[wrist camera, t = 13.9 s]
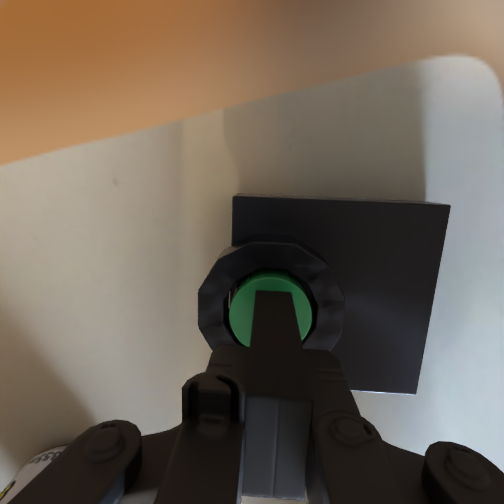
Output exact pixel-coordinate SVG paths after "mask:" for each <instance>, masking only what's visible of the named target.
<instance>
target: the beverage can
mask: <svg viewBox="0 0 504 504" xmlns="http://www.w3.org/2000/svg"><path fill="white" fill-rule="evenodd" d="M66 447H67V446H61V447H56V448H53V449H50V450H48V451H45V452H43V453H40V454H38V455H37V456H35V457H34V458H33V459H32V460H31V461H29V462H28V463H27V464H26V465H25V466H24V467H23V468H22V469H21V470H20V471H19V473H18V474H17V475H16V476H15V477H14V478H13V480H12V481H11V482H10V483H9V484H8V485H7V487H6V488H5V489H4V490H3V491H2V493H1V494H0V504H7V503H8V502H9V501H10V500H11V499H12V498H13V497H14V496H16V495H17V494H18V493H19V492H20V491H21V490H22V489H23V488H24V487H25V486H26V485H27V484H28V483H29V482H30V481H31V480H32V479H33V478H35V477H36V476H37V475H38V474H39V473H40V472H41V471H42V470H43V469H44V468H45V467H46V466H47V465H48V464H49V463H50V462H51V461H52V460H54V459H55V458H56V457H57V456H58V455H59V454H60V453H61V452H62V451H63V450H64V449H65V448H66Z"/></svg>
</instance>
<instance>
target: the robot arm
mask: <svg viewBox="0 0 504 504" xmlns="http://www.w3.org/2000/svg"><path fill="white" fill-rule="evenodd" d="M305 489H306V491H307V499H308V504H504V473H503V472H502V471H501V470H500V469H499V468H498V467H497V466H495V465H494V464H493V463H492V462H490V461H489V460H488V459H487V458H485V457H484V456H483V455H481V454H479V453H478V452H476V451H474V450H472V449H470V448H468V447H466V446H463V445H460V444H457V443H453V442H442V441H438V442H436V443H433V444H431V445H429V447H428V449H427V451H426V452H425V456H422V455H419V454H416V453H413V452H410V451H407V450H404V449H401V448H398V447H396V446H393V445H391V444H388V443H387V442H385V441H383V440H382V438H381V436H380V434H379V433H378V431H377V430H376V428H375V427H374V425H372V424H371V423H370V422H369V421H367V420H366V419H365V418H363V417H361V415H360V412H359V410H358V407H357V405H356V402H355V400H354V397H353V395H352V392H351V390H350V387H349V385H348V382H347V379H346V377H345V374H344V373H343V369H342V367H341V364H340V362H339V360H338V359H337V358H336V357H335V356H334V355H333V354H332V353H331V352H330V351H329V350H314V349H303V344H302V340H301V335H300V330H299V325H298V321H297V316H296V311H295V307H294V302H293V297H292V292H283V291H265V290H256V292H255V302H254V311H253V320H252V329H251V338H250V347H246V346H229V345H220V346H219V347H218V348H217V349H216V350H215V351H214V352H212V354H211V357H210V360H209V363H208V366H207V369H206V372H203V373H200V374H197V375H195V376H193V377H192V378H190V379H188V380H187V381H186V383H185V384H184V385H183V387H182V423H181V424H180V425H178V426H176V427H174V428H172V429H170V430H167V431H163V432H160V433H155V434H149V435H144V436H141V432H140V431H139V429H138V427H137V426H136V425H135V424H133V423H131V422H129V421H124V420H112V421H106V422H102V423H100V424H97V425H95V426H93V427H90V428H89V429H87V430H86V431H85V432H83V433H82V434H81V435H79V436H78V437H77V438H76V439H75V440H74V441H73V442H72V443H70V444H69V445H68V446H67V447H66V448H65V449H64V450H63V451H62V452H61V453H60V454H59V455H58V456H57V457H56V458H55V459H54V460H52V461H51V462H50V463H49V464H48V465H47V466H46V467H45V468H44V469H43V470H42V471H41V472H40V473H39V474H38V475H37V476H36V477H35V478H33V479H32V480H31V481H30V482H29V483H28V484H27V485H26V486H25V487H24V488H23V489H22V490H21V491H20V492H19V493H18V494H17V495H16V496H14V497H13V498H12V499H11V500H10V501H9V502H8V503H7V504H241V496H251V497H263V498H276V499H288V500H301V501H304V499H305Z"/></svg>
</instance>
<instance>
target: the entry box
mask: <svg viewBox="0 0 504 504" xmlns="http://www.w3.org/2000/svg"><path fill="white" fill-rule="evenodd" d="M450 208H451V206H450V205H447V204H440V203H433V202H424V201H400V200H376V199H352V198H328V197H304V196H281V195H257V194H237V195H235V196H233V201H232V242H231V247H229V248H227V249H225V250H224V251H223V252H222V253H221V255H220V256H219V258H218V259H217V261H216V263H215V264H214V266H213V267H212V269H211V271H210V272H209V274H208V275H207V277H206V279H205V280H204V282H203V283H202V285H201V287H200V288H199V292H198V326H199V329H200V331H201V333H202V334H203V336H204V338H205V339H206V341H207V343H208V344H209V346H210V348H211V349H212V351H213V352H214V351H215V350H216V349H217V348H218V347H219V346H220V345H229V346H245V345H244V344H243V343H241V342H240V341H239V339H238V338H237V337H236V336H235V334H234V332H233V330H232V328H231V325H230V320H229V292H230V305H231V302H232V298H233V295H234V291H235V289H236V286H237V285H238V283H239V281H240V280H241V279H242V278H243V277H244V276H246V275H248V274H250V273H252V272H254V271H256V270H258V269H260V268H264V269H283V270H287V271H288V272H290V273H292V274H293V275H295V276H296V277H297V278H298V279H299V280H300V282H301V283H302V285H303V286H304V289H305V291H306V294H307V297H308V300H309V303H310V306H311V311H312V321H311V325H310V329H309V331H308V333H307V334H306V336H305V338H304V339H303V340H302V344H303V349H314V350H329V351H330V352H331V353H332V354H333V355H334V356H335V357H336V358H337V359H338V360H339V362H340V364H341V367H342V369H343V373H344V374H345V377H346V379H347V382H348V385H349V387H350V390H351V391H361V392H376V393H392V394H407V395H416V392H417V386H418V381H419V375H420V370H421V364H422V359H423V354H424V348H425V343H426V337H427V332H428V327H429V321H430V316H431V310H432V305H433V300H434V294H435V289H436V283H437V278H438V272H439V267H440V262H441V256H442V251H443V245H444V240H445V235H446V229H447V224H448V218H449V213H450ZM246 347H247V346H246Z"/></svg>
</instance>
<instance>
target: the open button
mask: <svg viewBox="0 0 504 504" xmlns="http://www.w3.org/2000/svg"><path fill="white" fill-rule="evenodd" d="M256 290H265V291H283V292H292V297H293V302H294V307H295V311H296V316H297V321H298V325H299V330H300V335H301V340H303V339H304V338H305V336H306V334H307V333H308V331H309V329H310V325H311V321H312V311H311V306H310V303H309V300H308V297H307V294H306V291H305V289H304V286H303V285H302V283H301V282H300V280H299V279H298V278H297V277H296V276H295V275H293V274H292V273H290V272H288V271H287V270H283V269H264V268H260V269H258V270H256V271H254V272H252V273H250V274H248V275H246V276H244V277H243V278H242V279H241V280H240V281H239V283H238V285H237V286H236V289H235V291H234V295H233V298H232V302H231V305H230V309H229V320H230V325H231V328H232V330H233V332H234V334H235V336H236V337H237V338H238V339H239V341H240V342H241V343H243V344H244V345H245V346H247V347H250V338H251V329H252V320H253V311H254V302H255V292H256Z"/></svg>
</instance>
